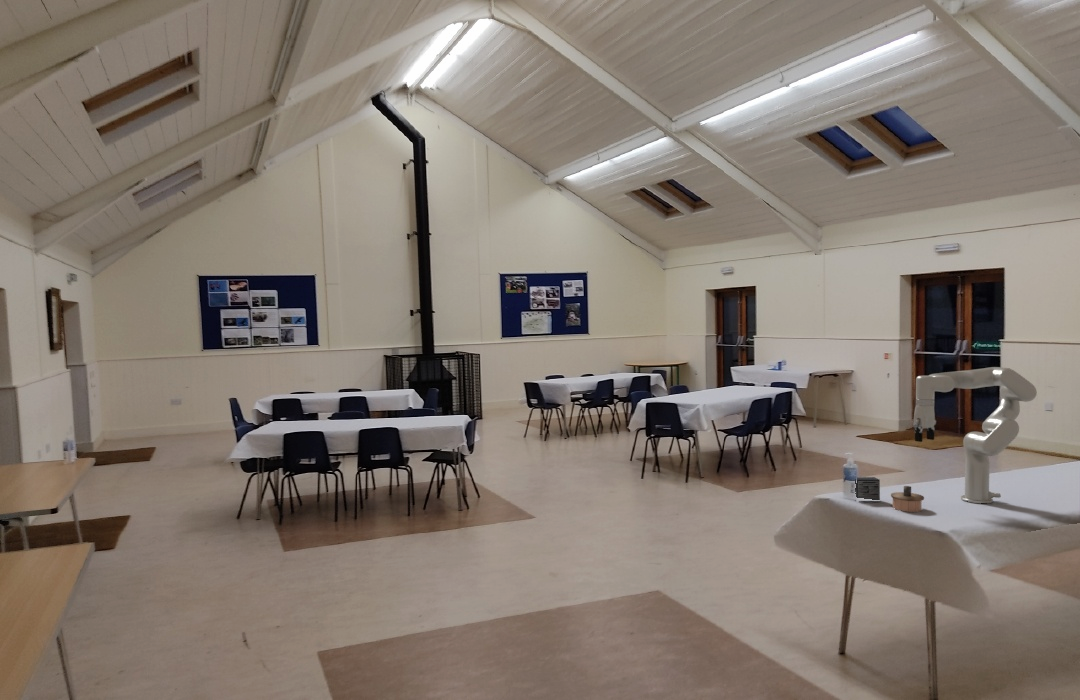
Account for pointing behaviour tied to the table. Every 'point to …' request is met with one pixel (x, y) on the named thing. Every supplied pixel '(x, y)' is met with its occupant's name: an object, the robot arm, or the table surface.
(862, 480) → the small box
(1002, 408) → the robot arm
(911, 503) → the bowl
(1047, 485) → the table surface
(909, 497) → the lid
